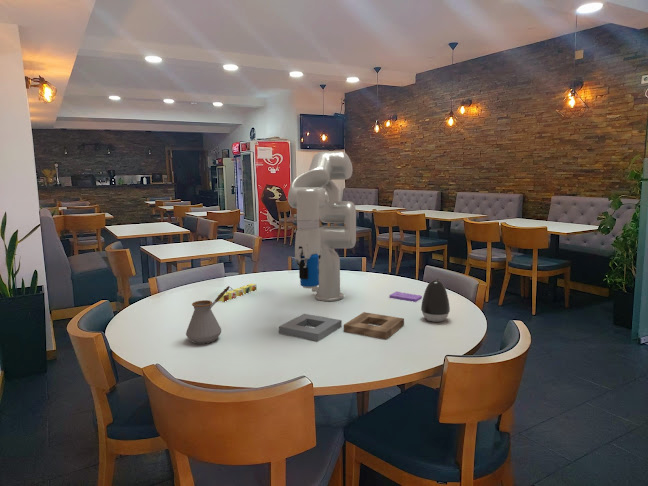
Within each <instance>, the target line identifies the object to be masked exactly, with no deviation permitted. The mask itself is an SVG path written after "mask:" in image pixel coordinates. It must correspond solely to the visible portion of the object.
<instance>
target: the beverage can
mask: <svg viewBox="0 0 648 486" xmlns="http://www.w3.org/2000/svg"><path fill="white" fill-rule="evenodd" d="M302 258H305V256H302ZM302 261H303V263H304V261H305V260H302ZM307 268H308V279H300V278H299V281H300V283H299V284H300V286H301V287H303V288H304V289H312V288H316V287H319V256H318V254H317V253H314V254H312V255H311V257H310V259H308V263H307Z"/></svg>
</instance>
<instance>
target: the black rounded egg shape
mask: <svg viewBox="0 0 648 486" xmlns="http://www.w3.org/2000/svg"><path fill="white" fill-rule="evenodd" d="M446 289H447V288H446V286H445V285H444V283H443V282H442V281H441V280H439V278H436V279H433V280H431V281H429V283H428V284H427V285H426V288H425V290H424V294H423V295H422V300H421V307H420V309H421V310H420V311H421V312H422V315H423V317H424V318H425V319H426V320H427V321H429V322H432V323H441V322H444V321H445V320H446V319H447V318H448V316H449V314H450V311H451V309H450V307H451V306H450V300H449V297H448V292H447V290H446Z"/></svg>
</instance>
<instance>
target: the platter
mask: <svg viewBox="0 0 648 486" xmlns="http://www.w3.org/2000/svg"><path fill="white" fill-rule="evenodd" d="M255 290H256V291H257V290H258V288H257V283H248V284H246V285H243V286H240V287H239V288H238V287H237V288H234V289H232V291H231V290H230V291H229V290H227V292H225V294H224V295H223V296H222V297H221V298H220V299H219V300H218V301H217V302H219V301H222V302H221V303H226V302H228V301H227V300H229V301H230V300H234V299H237V298H236V297H237V296H240V297H242V296H244V295H247V294H246V293H248V294H249V292H250V293H251V291H253V292H256V291H255ZM243 293H244V294H243ZM219 295H220V293H219V294H217V297H218V296H219ZM241 295H242V296H241ZM233 298H234V299H233ZM225 301H226V302H225Z"/></svg>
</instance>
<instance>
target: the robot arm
mask: <svg viewBox="0 0 648 486" xmlns="http://www.w3.org/2000/svg"><path fill="white" fill-rule="evenodd" d="M352 175H353V164H352V161H351V158H350V157H349V155H348V154H347V152H344V151H341V150H338V151H334V150H333V151H320V152H317V153H316V154H314V155H313V157H312V160H311V163H310V165H309V169H308V170H307V171H306V172H303V173H301V174H300V175H298V176H297V177H295V178H294V179H293V180H292V182H291V183H290V187H289V189H288V192H287V193H288V195H287V201H288V202H287V203H288V204H289V206H290V207H291V208H292V209H296V226H297V227H296V229H297V230H296V233H295V241H294V243H295V244H294V260H295V262H296V264H297V267H298V273H299V276H298V277H299V280H300V279H308V268H307V263H308V259H310V257H311V255H312V254H314V253H317V254H318V256H319V285H318V286H317V287H316V288H311V292H316V294H315V295H314V297H315V298H314V299H316V300H317V301H318V300H319V301H324V302H335V301H340V300H343V299H344V296H345V295H344V293H343V292H341V261H340V259H341V258H340V256H339V254H338V252H337V251H336V250H335V249H345V250H346V249H352V248H354V247H355V246H356V243H357V209H356V205H355V203H354V202H353V201H351V200H350V201H348V200H347V201H346V200H345V201H344V200H340V199H339V196H340V194H339V192H340V190H339V187H338V186H337V185H336V183H335V182H334V181H336V180H338V181H339V180H348V179H351V177H352ZM333 180H334V181H333ZM320 221H321V223H325V224H344V225H345V226H338V225H337V226H335V225H331V226H330V225H329V226H327V225H326V226H325V225H324V226H321V227H320ZM302 256H305V258H302ZM302 260H305V261H304V263H303V261H302Z"/></svg>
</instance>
